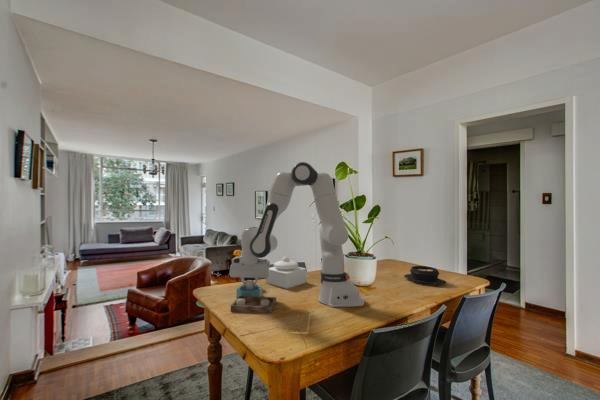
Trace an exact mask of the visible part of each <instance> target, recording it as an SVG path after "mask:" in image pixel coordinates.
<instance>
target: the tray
mask: <svg viewBox="0 0 600 400" xmlns="http://www.w3.org/2000/svg"><path fill="white" fill-rule="evenodd" d="M240 298H243V299H245V305H236V304H237V299H240ZM263 299H267V300H269V306H261V300H263ZM276 304H277V297H275V296H272V297H270V296H261V297H252V296H239V297H238V298H237V297H236V299H235V300H234V301H233V303H232V304H231V305H230V312H237V313H238V312H239V313H259V314H261V313H262V314H272V312H273V310H274V308H275V307H276Z"/></svg>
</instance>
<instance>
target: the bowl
mask: <svg viewBox="0 0 600 400" xmlns="http://www.w3.org/2000/svg"><path fill="white" fill-rule="evenodd" d="M239 296H252V297H263V286H261V285H259V284H256V287H253V290H246V286H243V285H239V286H238V287H237V288H236V299H237V298H238V297H239Z"/></svg>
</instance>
